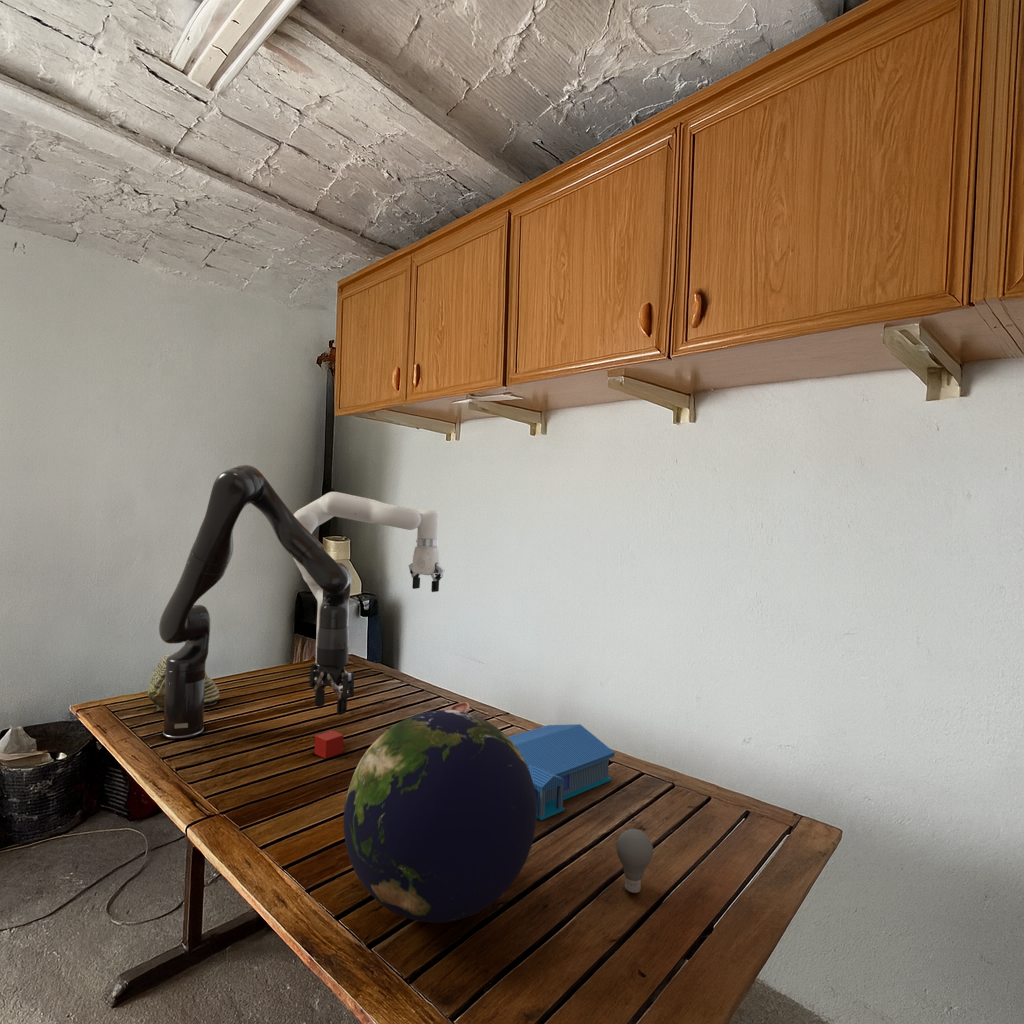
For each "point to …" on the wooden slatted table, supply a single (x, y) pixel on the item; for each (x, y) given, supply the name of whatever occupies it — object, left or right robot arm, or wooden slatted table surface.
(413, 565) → the right robot arm
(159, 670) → the fossil
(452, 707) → the anatomical model
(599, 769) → the model building
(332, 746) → the block
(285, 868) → the wooden slatted table surface
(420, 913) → the globe
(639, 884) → the light bulb
